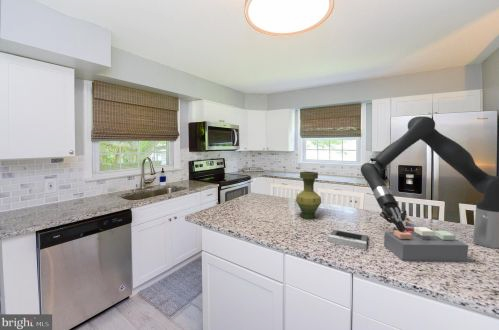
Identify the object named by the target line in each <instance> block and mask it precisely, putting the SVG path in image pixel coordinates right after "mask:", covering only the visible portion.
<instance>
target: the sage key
mask: <svg viewBox="0 0 499 330" xmlns="http://www.w3.org/2000/svg"><path fill="white" fill-rule="evenodd" d="M434 235H435V236H437V237H439V238H440V239H442V240H455V239H456V235H455V234H454V233H452V232H449V231H447V230H434Z"/></svg>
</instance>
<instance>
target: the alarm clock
mask: <svg viewBox="0 0 499 330" xmlns="http://www.w3.org/2000/svg"><path fill="white" fill-rule="evenodd" d="M368 240H369V234H367V233H365V234H364V233H360V232H353V231H349V230H343V229H337V228H333V230H332V231H331V232H330V234H329V235H327V242H329V243H331V244H332V243H333V244H338V245H341V246H348V247H352V248H356V249H362V250H367V242H368Z"/></svg>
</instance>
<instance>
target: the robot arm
mask: <svg viewBox="0 0 499 330" xmlns="http://www.w3.org/2000/svg"><path fill="white" fill-rule="evenodd" d="M407 129H408V130H407V131H406V132H405V133H404V134H403V135H402V136H401V137H399V138H398V139H397V140H395V141H394V142H392V143H391V144H389V145H387V146H386V147H385V148H383V150H382V151H380V152H379V153H378V154H377V155H376V156H375V159H374V160H375V161H374V163H373V164H372V163H371V162H365V163H363V164H362V165H361V167H360V174H361V175H362V177H363V178H364V179H365V181H366V182H367V184H368V186H369V188H370V189H371V191H372V194H373V196H374V198H375V200H376V202H377V204H378V206H379V208H380V209H381V212H380V213H379V216H380V217H381V218H383V219H385V221H387V222H388V223H389V224H394V225H395V227H397V229H398V230H399V231H400V232H403V231H405V228H406V226H404V225H403V223H402V222H403V221H404V220H405V218H407V216H406V214H407V210H406V209H404V210H402V209H401V208H400V206H399V205H398V201H397V200H396V199H395V196H394V195H393V193H392V191H391V190H390V188H389V187H388V185H387V184H386V182H385V181H384V179H383V178H382V177H381V175H382V173H383V172H384V171H385V169H386V168H387V167H388V165H389V164H391V163H392V162H393V161H394V160H395V159H397V158H398V157H399V156H400V155H401V154H402V153H403V152H405V151H406V150H408V148H409V149H410V147H412V146H413V145H414V144H415V143H417V142H418V141H420V140H421V141H422V142H424V143H425V144H426V145H427V146H429V148H430V149H431V150H432V151H433V152H434V153H435V154H437V156H439V158H441V160H443V161H444V162H445V163H446V164H447V165H449V166H450V167H451V168H452V169H454V170H455V171H456V172H458V173H459V174H460V175H462V177H464V178H465V179H466V180H467V182H468V183H469V184H470V185H471V186H472V187H473V188H474V189H475V190H476V191H477V192H479V193H482V194H484V195H483V199H482V200H479V201H477V202H476V205H475V214H474V215H475V216H474V217H475V218H474V228H473V229H474V230H473V240H472V241H473V243H475V244H476V245H479V246H481V247H486V248H491V249H499V176H496V175H490V174H489V173H488V172H487V173H486V171H484V170H482V169H481V168H480V167H479V166H478V165H477V164H476V163H475V160H474V157H473V156H472V154H471V153H470V152H469V151H468V150H467V149H466V148H465V147H463V146H462V145H461V144H460V143H458V142H456V141H455V140H453V139H452V138H449V137H447V136H446V135H443V133H441V132H439V130H437V129H436V122H435V120H434V119H433V118H432V117H430V116H424V115H423V116H421V115H420V116H415V117H412V118H410V119H409V121H408V123H407Z"/></svg>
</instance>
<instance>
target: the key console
mask: <svg viewBox="0 0 499 330" xmlns="http://www.w3.org/2000/svg"><path fill="white" fill-rule="evenodd" d="M409 233H411V234H412V239H408V240H401V239H399V238H398V237H397V236H395V235H394V232H393V231H384V235H383V236H384V237H383V238H384V239H383V246H384V247H385V248H386V249H387V250H388V251H389V252H391V253H392V254H393V255H395V257H398V259H400V260H401V261H404V262H405V261H407V262H463V263H464V262H468V256H469V255H468V254H469V252H468V251H469V244H466V243H464V242H462V241H460V240H458V239H456V238H455V240H442V239H440V238H439V237H437V236H435V235H434V236H430V238H429V240H422V239H420V238H418V233H416V232H409Z"/></svg>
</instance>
